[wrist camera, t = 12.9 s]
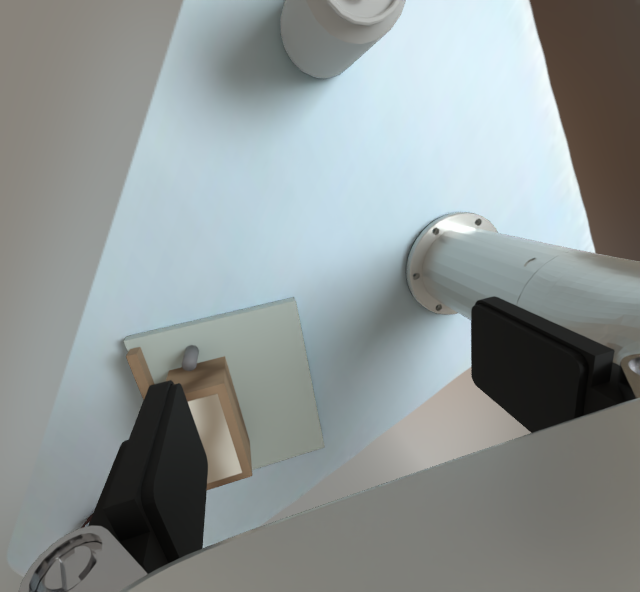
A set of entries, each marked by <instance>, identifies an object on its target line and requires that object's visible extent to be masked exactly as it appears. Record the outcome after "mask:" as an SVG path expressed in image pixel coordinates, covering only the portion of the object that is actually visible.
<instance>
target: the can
mask: <svg viewBox="0 0 640 592" xmlns="http://www.w3.org/2000/svg"><path fill="white" fill-rule="evenodd" d="M405 1H406V0H285V3H284V6H283V10H282V14H281V18H280V24H281V37H282V41H283V44H284V48H285V50H286V52H287V54H288V55H289V57H290V59H291V60H292V62H293V63H294V64H295V65H296V66H297V67H298V68H299V69H300V70H301V71H302V72H304V73H306V74H308V75H310V76H313V77H315V78H326V79H327V78H331V77H334V76H337V75H339V74H341V73H342V72H343V71H345V70H346V69H347V68H349V67H350V66H351V65H352V64H353V63H354V62H355V61H356V60H358V59H359V58H360V57H361V56H362V55H363V54H364V53H365V52H366V51H367V50H369V49H370V48H371V47H372V46H373V45H374V44H375V43H376V42H377V41H379V40H380V39H381V38H382V37H383V36H384V35H385V34H386V33H387V32H389V31H390V30H391V28H392V27H393V25H394V24H395V23H396V21H397V20H398V18H399V17H400V15H401V13H402V10H403V7H404V4H405Z"/></svg>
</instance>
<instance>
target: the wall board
mask: <svg viewBox="0 0 640 592" xmlns="http://www.w3.org/2000/svg"><path fill="white" fill-rule="evenodd" d="M124 344H125V346H126V349H127V351H128V354H127V355H126V358H127V360H128V363H129V365H130V368H131V370H132V373H133V375H134V378H135V380H136V383H137V385H138V387H139V390H140V392H141V395H142V397H143V400H144V399H145V396H146V393H147V391H148V388H149V386H150V385H154V384H158V383H161V382H165V381H166V378H167V375H168V372H169V370H173V369H177V368H181V367H182V368H183V369H184V370H186V371H192V370H194V369H195V368H196V365H197V363H200V362H204V361H208V360H212V359H216V358H220V357H224V356H225V358H226V361H227V365H228V368H229V372H230V375H231V378H232V382H233V385H234V389H235V392H236V396H237V399H238V402H239V406H240V409H241V413H242V416H243V419H244V423H245V426H246V430H247V433H248V437H249V440H250V451H251V464H252V470H254V469H257V468H261V467H264V466H267V465H270V464H273V463H276V462H280V461H283V460H286V459H289V458H292V457H296V456H299V455H302V454H305V453H308V452H312V451H315V450H318V449H321V448H324V442H323V437H322V431H321V426H320V421H319V416H318V411H317V406H316V401H315V396H314V391H313V386H312V381H311V375H310V370H309V365H308V360H307V355H306V350H305V345H304V340H303V335H302V330H301V325H300V319H299V314H298V309H297V304H296V300H295V298H294V297H292V298H288V299H284V300H280V301H275V302H271V303H267V304H262V305H258V306H254V307H250V308H245V309H241V310H237V311H233V312H228V313H224V314H220V315H216V316H211V317H207V318H203V319H199V320H194V321H190V322H186V323H181V324H177V325H173V326H169V327H164V328H160V329H156V330H152V331H147V332H143V333H139V334H135V335H130V336H127V337H126V338H125V340H124Z"/></svg>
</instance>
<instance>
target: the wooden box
mask: <svg viewBox="0 0 640 592" xmlns="http://www.w3.org/2000/svg"><path fill="white" fill-rule="evenodd" d="M169 380H172V381H173V383H174V384H178V383H180V384H181V385H182V388H183V391H184V393H185V396H186V399H187V402H188V405H189V408H190V410H191V413H192V416H193V419H194V422H195V424H196V427H197V430H198V433H199V436H200V439H201V441H202V444H203V447H204V450H205V453H206V456H207V461H208V476H207V490H209V489H212V488H215V487H219V486H222V485H225V484H228V483H231V482H234V481H238V480H241V479H244V478H247V477H250V476H252V464H251V451H250V440H249V437H248V433H247V430H246V426H245V423H244V419H243V416H242V413H241V409H240V406H239V402H238V399H237V396H236V392H235V389H234V385H233V382H232V378H231V375H230V372H229V368H228V365H227V361H226V358H225V356H224V357H220V358H216V359H212V360H208V361H204V362H200V363H197V365H196V368H195V369H194V370H192V371H186V370H184V369H183V368H182V367H181V368H177V369H173V370H169V372H168V375H167V378H166V381H169Z"/></svg>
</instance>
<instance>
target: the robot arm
mask: <svg viewBox="0 0 640 592" xmlns="http://www.w3.org/2000/svg"><path fill="white" fill-rule="evenodd" d="M432 231H433V232H432ZM406 269H407V281H408V286H409V289H410V291H411V293H412V295H413V296H414V298H415V299H416V300H417V302H418V303H420V304H421V305H422V306H423V307H425V308H426V309H428V310H430V311H432V312H434V313H437V314H444V315H450V314H457V313H459V314H461V315H463V316H464V317H466V318H468V319H469V320H471V360H472V379H473V381H474V383H475V385H476V386H477V387H478V388H480V389H481V390H482V391H483V392H484V393H485V394H487V395H488V396H489V397H490V398H491V399H493V400H494V401H495V402H496V403H497V404H499V405H500V406H501V407H502V408H503V409H504V410H506V411H507V412H508V413H509V414H510V415H511V416H513V417H514V418H515V419H516V420H517V421H519V422H520V423H521V424H522V425H523V426H524V427H526V428H527V429H528V430H529V431H530V432H531V434H528V435H525V436H522V437H519V438H516V439H513V440H510V441H507V442H504V443H501V444H498V445H495V446H492V447H489V448H486V449H483V450H480V451H477V452H474V453H471V454H468V455H465V456H462V457H460V458H457V459H454V460H451V461H448V462H445V463H442V464H439V465H436V466H434V467H430V468H427V469H425V470H422V471H419V472H416V473H413V474H410V475H407V476H404V477H401V478H399V479H396V480H393V481H390V482H387V483H384V484H381V485H378V486H375V487H372V488H370V489H367V490H364V491H361V492H358V493H355V494H352V495H350V496H347V497H344V498H341V499H338V500H335V501H332V502H329V503H327V504H324V505H321V506H318V507H315V508H312V509H309V510H306V511H304V512H301V513H298V514H295V515H292V516H289V517H286V518H284V519H281V520H278V521H275V522H272V523H269V524H267V525H264V526H261V527H258V528H255V529H252V530H249V531H246V532H244V533H241V534H239V535H236V536H234V537H231V538H228V539H226V540H223V541H221V542H218V543H216V544H213V545H211V546H208V547H205V548H203V549H202V546H203V532H204V518H205V504H206V490H207V476H208V461H207V456H206V453H205V450H204V447H203V444H202V441H201V439H200V436H199V433H198V430H197V427H196V424H195V422H194V419H193V416H192V413H191V410H190V408H189V405H188V402H187V399H186V396H185V393H184V391H183V388H182V385H181V384H180V383H178V384H174V383H173V381H172V380H169V381H165V382H161V383H158V384H154V385H150V386H149V388H148V391H147V393H146V396H145V399H144V401H143V404H142V406H141V409H140V412H139V414H138V417H137V420H136V422H135V425H134V427H133V430H132V433H131V435H130V438H129V440H126V441H124V442H123V443H122V445H121V446H120V448H119V451H118V453H117V456H116V458H115V461H114V463H113V466H112V468H111V471H110V473H109V476H108V478H107V481H106V483H105V486H104V488H103V491H102V493H101V496H100V498H99V501H98V503H97V506H96V508H95V511H94V513H93V516H92V518H91V521H90V523H89V526H88V527H84V528H80V529H78V530H75V531H73V532H71V533H69V534H67V535H65V536H64V537H62V538H61V539H59V540H58V541H57V542H55V543H54V544H52V545H51V546H50V547H49V548H48V549H47V550H46V551H45V552H43V553H42V554H41V555H40V556H39V557H38V559H37V560H36V561H35V562H34V563H33V565H32V566H31V567H30V568H29V570H28V571H27V573H26V575H25V577H24V578H23V580H22V582H21V585H20V588H19V592H640V262H638V261H633V260H627V259H621V258H615V257H611V256H606V255H600V254H596V253H591V252H586V251H581V250H576V249H571V248H567V247H562V246H557V245H553V244H548V243H543V242H539V241H534V240H529V239H524V238H520V237H515V236H510V235H506V234H501V233H498V231H497V230H496V228H495V227H494V225H493V224H492V223H491V222H490V221H489V220H487V219H486V218H484V217H483V216H480V215H477V214H474V213H468V212H455V213H450V214H447V215H444V216H442V217H440V218H438V219H436V220H435V221H433V222H432V223H430V224H429V225H428V226H427V227H426V228H425V229H424V230H423V231H422V232H421V234H420V235H419V236H418V238H417V239H416V241H415V243H414V244H413V246H412V248H411V251H410V254H409V257H408V262H407V268H406Z"/></svg>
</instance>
